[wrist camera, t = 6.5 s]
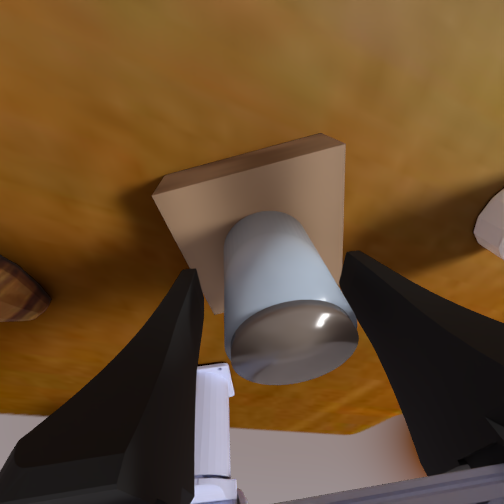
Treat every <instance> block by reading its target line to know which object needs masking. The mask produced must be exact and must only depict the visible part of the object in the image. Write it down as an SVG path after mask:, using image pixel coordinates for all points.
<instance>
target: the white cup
mask: <svg viewBox="0 0 504 504" xmlns="http://www.w3.org/2000/svg"><path fill="white" fill-rule="evenodd" d="M474 235H475V237H476V239H477V242H478V243H479V244H480V245H482V246H483V247H485V248H486V249H488V250H489V251H491V252H492V253H494V254H495V255H497V256H498V257H500V258H501V259H503V260H504V189H502V190H501V191H500V192H499V193H498V194H496V195H495V196H494V197H493V198H492V199H491V200H490V201H489V203H488V204H487V205H486V207H485V208H484V209H483V211H482V212H481V213H480V215H479V216H478V219H477V222H476V225H475V229H474Z"/></svg>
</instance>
